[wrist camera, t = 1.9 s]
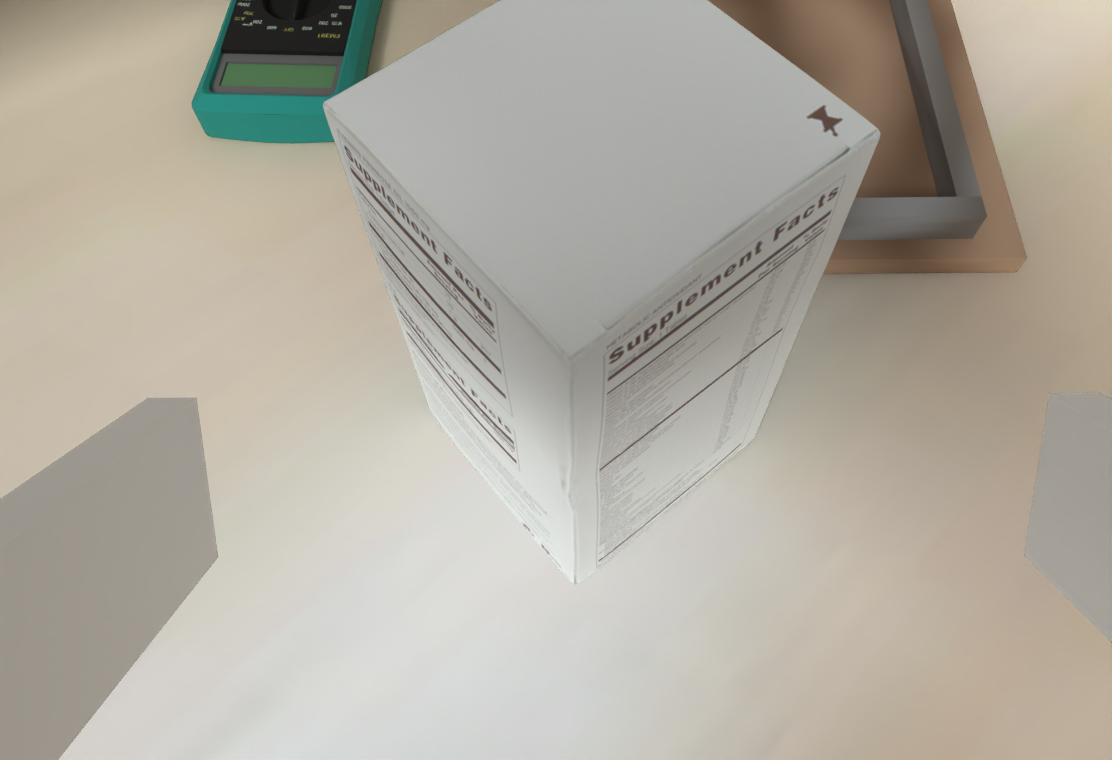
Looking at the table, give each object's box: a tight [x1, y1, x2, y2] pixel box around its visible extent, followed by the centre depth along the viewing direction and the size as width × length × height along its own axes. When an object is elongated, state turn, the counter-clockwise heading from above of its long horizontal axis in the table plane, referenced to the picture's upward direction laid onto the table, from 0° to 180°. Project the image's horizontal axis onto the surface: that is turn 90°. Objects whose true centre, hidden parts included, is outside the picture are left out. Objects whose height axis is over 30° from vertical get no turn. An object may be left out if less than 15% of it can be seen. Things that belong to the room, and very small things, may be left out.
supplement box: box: [323, 0, 880, 584], centre depth 27 cm, size 10×9×17 cm
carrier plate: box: [708, 0, 1027, 274], centre depth 41 cm, size 20×18×2 cm
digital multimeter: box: [192, 0, 382, 143], centre depth 45 cm, size 7×15×3 cm, turn 177°
